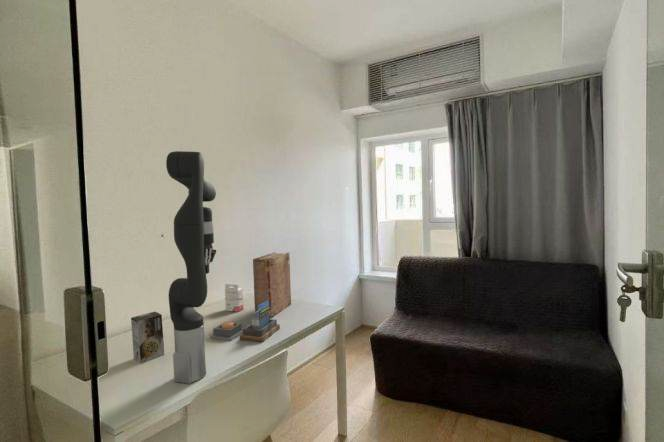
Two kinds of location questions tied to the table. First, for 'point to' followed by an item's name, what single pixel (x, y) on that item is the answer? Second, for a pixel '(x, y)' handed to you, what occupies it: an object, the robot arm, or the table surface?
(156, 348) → the coffee box
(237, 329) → the button panel
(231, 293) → the ink cartridge box
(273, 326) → the tray
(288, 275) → the book
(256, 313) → the label tape box
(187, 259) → the robot arm
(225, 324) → the button
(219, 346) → the table surface
